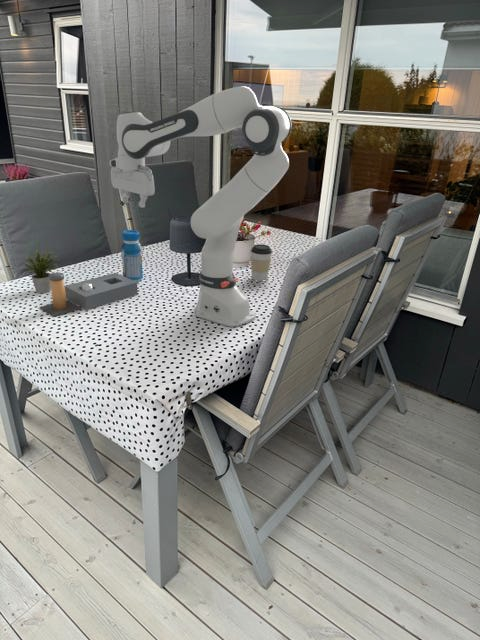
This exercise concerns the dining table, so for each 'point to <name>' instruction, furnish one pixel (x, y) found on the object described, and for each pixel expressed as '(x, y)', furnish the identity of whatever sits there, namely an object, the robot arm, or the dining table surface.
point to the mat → (55, 313)
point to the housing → (101, 291)
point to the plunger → (86, 286)
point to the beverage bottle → (131, 255)
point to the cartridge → (58, 291)
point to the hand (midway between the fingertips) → (133, 204)
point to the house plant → (41, 271)
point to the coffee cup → (260, 261)
